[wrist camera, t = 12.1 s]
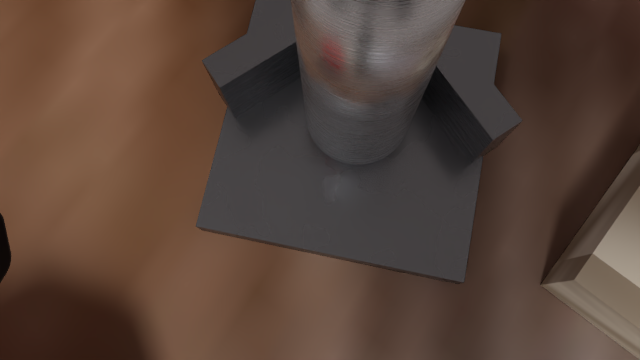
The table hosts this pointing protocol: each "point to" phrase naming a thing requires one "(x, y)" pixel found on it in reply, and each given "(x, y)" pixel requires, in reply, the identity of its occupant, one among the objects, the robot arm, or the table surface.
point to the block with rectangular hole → (606, 263)
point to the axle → (367, 69)
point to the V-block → (352, 179)
